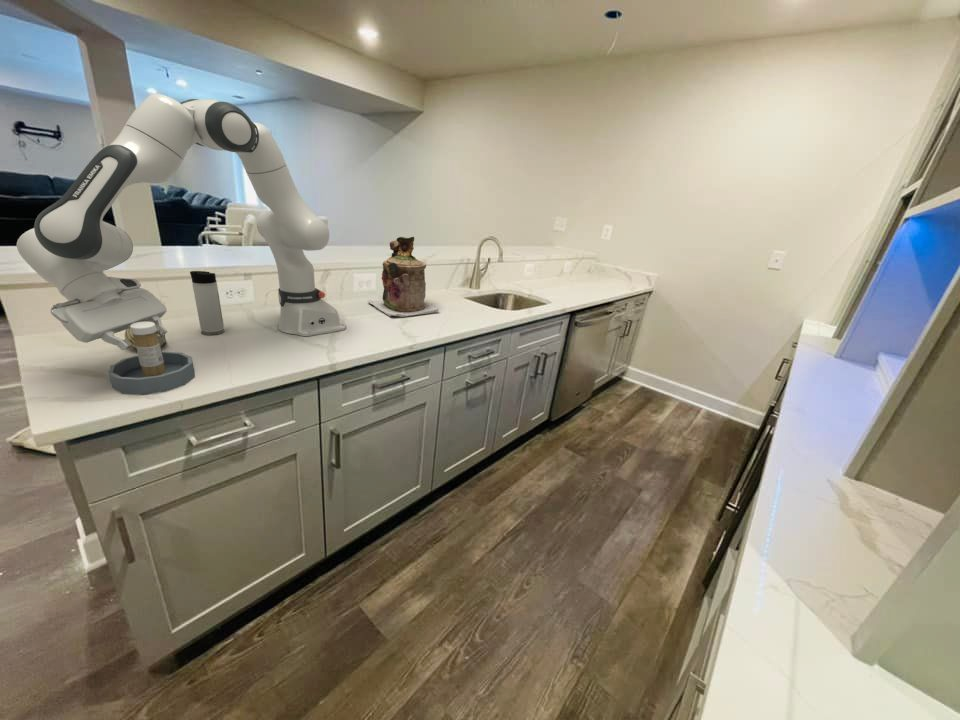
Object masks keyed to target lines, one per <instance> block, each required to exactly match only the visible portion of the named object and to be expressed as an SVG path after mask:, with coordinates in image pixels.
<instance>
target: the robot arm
mask: <svg viewBox="0 0 960 720" xmlns="http://www.w3.org/2000/svg"><path fill="white" fill-rule="evenodd" d="M194 145H199V146H201V147H205V148H208V149H212V150H216V151H227V152H231V153H235V154H236V155H237V156H238V158H239V159H240V160H241V163H242V165H243V166H242V167H243V169H244V170H245V173H246V175H247V177H248V179H249V181H250V183H251V186H252V188H253V190H254V192H255V194H256V196H257V198H258V199H259V201H261V203H263V204H264V205H265V206H267V208H268V209H269V210H264V211H262V212H261V213H260V214H259V215H258V217H257V218H256V219H257V220H256V229H257V231H258V233H259V235H260V236H261V237H262V238H263V240H264V241H265V242H266V243H267V244H268V247H269V249H270V251H271V253H272V256H273V259H274V261H275V264H276V269H277V277H278V286H279V287H278V292H277V294H278V296H277V297H278V303H279V305H280V315H279V322H278V327H277V329H278V330H279V331H280V332H283V333H286V334H290V335H298V336H301V337H310V336H317V335H321V334H322V335H324V334H328V333H334V332H341V331H345V330H346V329H347V325H346V322H345V321H344V319H341V318H340V316H339V312H338V311H337V308H335V307H334V306H333V305H332V304H330V303H328V302H327V301H326V300H324V299H325V297H326V294H325V292H323V291H321V290H320V289H318V288H316V282H315V269H314V266H313V264H312V263H311V262H310V260H309V259H308V258H307V257H306V256H307V255H305V253H304V251H307V252H308V251H313V252H314V251H321V250H323V249H324V248H325V247H327V245H328V243H329V240H330V230H329V227H328V225H327V224H326V223H325V221H323V220H322V219H321V218H319V216H317V215H316V214H315V212H313V210H312V209H311V208H310V207H309V205H308V204H307V203H306V201H305V200H304V199H303V197H302V196H301V194H300V193H299V191H298V189H297V187H296V184H295V182H294V180H293V177H292V175H291V172H290V170H289V168H288V165H287V162H286V160H285V158H284V155H283V154H282V152H281V149H280V147H279V146H278V142H277V141H276V139H275V137H274V136H273V135H272V132H271V130H269V128H268V127H267V126H265V125H264V124H262V123H260V122H256V121H252V120H251V119H250V117H249V116H248V115H247V114H246V112H244V111H243V110H242V109H241V108H239V107H238V106H237V105H235V104H233V103H231V102H228V101H221V100H217V99H211V98H203V99H198V98H197V99H196V98H191V99H186V100H184V101H181V102H179V101H178V100H176V99H174V98H172V97H171V96H169V95H168V96H167V95H165V94H161V93H152V94H149V95H148V96H147V97H146V98H145V99H144V100H143V101H141V103H140V104H139V105H138V106H136V108H135V109H134V111H133V112H132V113H131V115H130V116H129V118H128V119H127V121H126V123H125V125H124V126H123V128H122V129H121V131H120V132H119V133H118V135H117V136H116V138H115V139H114V140H113V141H112V142H111V143H110V144H109V145H107V146H105V147H103V148H102V149H101V150H99V151H98V152H97V154H95V156H93V158H92V159H90V161H89V162H88V163H87V165H86V166H85V168H84V169H83V170H82V172H80V174H79V175H78V176H77V178H76V179H75V180H74V182H72V184H71V185H70V187H69V188H68V189H67V190H66V192H64V194H63V195H62V196H61V197H60V198H59V199H58V200H56V202H54V203H52V204H51V205H49V206H48V207H46V208H44V209H43V210H42V211H41V212H40V213H39V214H37V217H36V218H35V221H34V225H33V228H30V229H29V230H27V231H24V233H22V234H21V235H20V236H19V238H17V242H16V249H17V251H18V254H19V255H20V256H21V258H22V259H23V261H25V263H26V264H27V265H29V267H30V268H31V269H32V270H33V271H34V272H35V273H36V274H38V275H39V276H40V277H41V278H42V279H43V280H44V281H46V282H48V283H49V284H51V285H53V286H55V287H56V289H57V290H58V292H59V294H61V296H62V297H63V298H65V299H66V300H67V301H65V302H59V303H55V304H53V305H52V307H51V308H50V314H51V315H52V316H53V317H54V318H55V319H57V321H59V322H60V323H61V324H62V326H63V327H64V328H65V329H66V330H67V331H68V333H69V334H71V336H73V338H74V339H75V340H77V341H78V342H82V343H86V344H87V343H89V342H90V343H91V342H94V341H96V340H99V339H101V340H102V341H103V342H105V343H107V344H110V345H113V346H117V347H118V348H119V349H120V350H121V351H127V350H128V349H130V348H131V347H132V343H131V342H129V341H128V340H127V339H122V338H120V337H118V336H116V335H115V334H117V333H119V332H123V331H125V330H126V329H129V328H130V325H132V324H134V323H137V322H153V323H155V325H156V329H157V333H156V334H157V336H162V335H165V336H166V334H167V333H168V330H167V328H165V327H164V326H163V324H162V319H161V318H162V317H163V316H165V314H166V313H167V307H166V305H165V304H164V303H163V302H162V300H160V299H159V298H158V297H157V296H155V295H154V294H153V293H152V292H151V291H149V290H147V289H145V288H143V287H142V283H141V282H140V281H138V280H137V279H134V278H125V277H124V278H121V277H115V276H114V277H113V276H108V275H106V274H105V272H104V271H107V270H110V269H113V268H115V267H117V266H118V265H120V264H123V263H125V262H127V260H129V259H130V258H131V256H132V255H133V251H134V244H133V240H132V239H131V237H130V236H129V234H128V233H127V232H126V231H125V230H123V229H121V228H120V227H117V226H115V225H113V224H111V223H109V222H106V221H105V220H103V219H104V218H105V215H106V213H107V212H108V211H109V210H110V209H111V207H112V206H113V204H114V203H115V202H116V200H117V199H118V198H119V196H120V195H121V193H122V192H123V191H124V190H125V189H126V188H127V187H129V186H131V185H135V184H139V183H140V184H141V183H142V184H144V183H145V184H146V183H147V184H160V183H161V184H162V183H165V182H168V181H169V180H170V179H171V178H172V177H174V175H175V174H176V173H177V172H178V171H179V168H180V167H181V165H182V162H183V161H184V160H185V157H186V156H187V153H188V151H189V149H191V148H192V147H193V146H194Z"/></svg>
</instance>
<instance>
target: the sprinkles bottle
mask: <svg viewBox="0 0 960 720" xmlns="http://www.w3.org/2000/svg"><path fill="white" fill-rule="evenodd" d="M130 329H131V333H132V335H133V337H134V340H135V345H136V348H137V349H136V348H135V349H136V351H137V355H138V357H139V361H140V365H141V367H142V371H143V377H151V376H159V375H163V374H166V370H165V366H164V361H163V356H162V352H163V351H162V347H160V344H159V341H158V337H157V334H156V333H157V329H156V325H155V323H153V322H137V323H134V324H132V325H130Z"/></svg>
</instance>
